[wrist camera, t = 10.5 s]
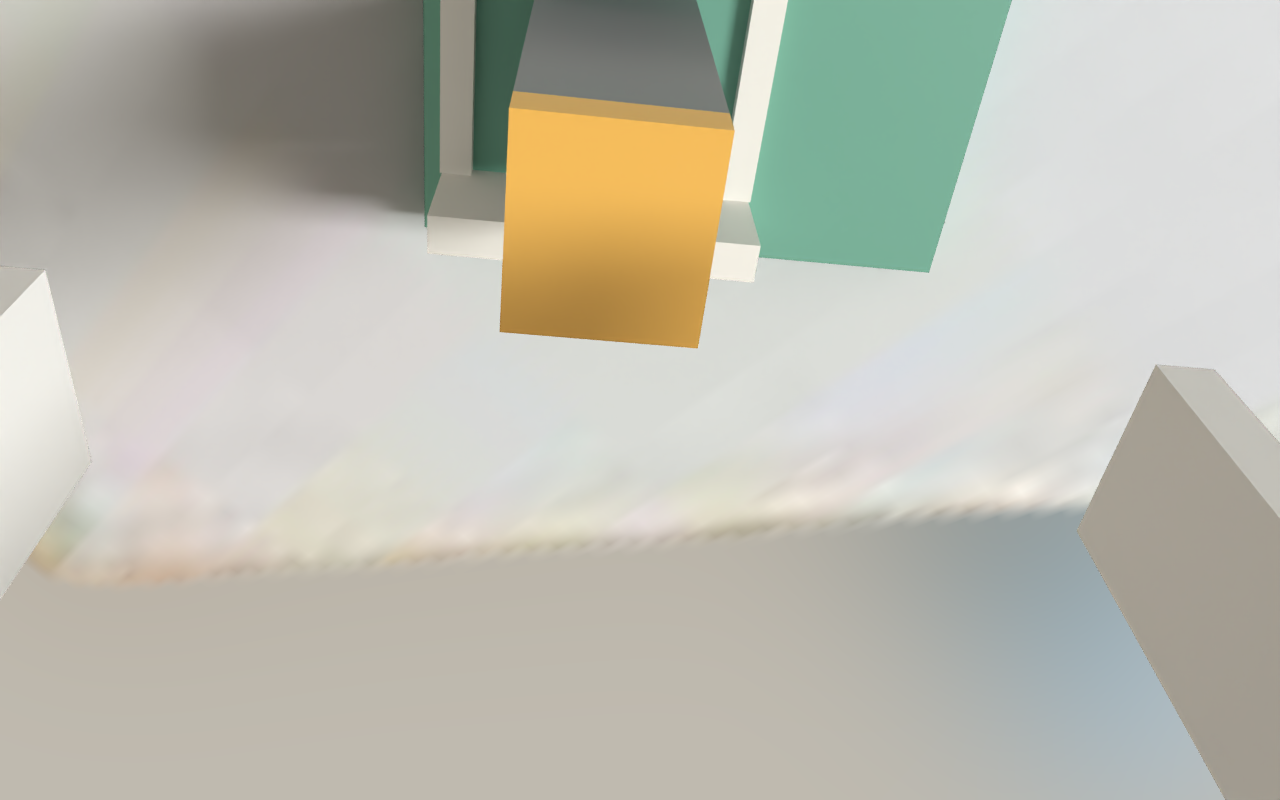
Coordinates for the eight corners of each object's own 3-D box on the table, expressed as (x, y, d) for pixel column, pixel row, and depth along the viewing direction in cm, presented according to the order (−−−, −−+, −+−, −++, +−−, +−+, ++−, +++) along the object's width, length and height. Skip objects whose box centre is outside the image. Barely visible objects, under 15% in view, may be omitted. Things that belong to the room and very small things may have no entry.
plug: (542, -36, 24) (509, 108, 16) (690, -19, 24) (735, 130, 16) (531, 152, 26) (498, 360, 18) (666, 166, 27) (693, 376, 19)
